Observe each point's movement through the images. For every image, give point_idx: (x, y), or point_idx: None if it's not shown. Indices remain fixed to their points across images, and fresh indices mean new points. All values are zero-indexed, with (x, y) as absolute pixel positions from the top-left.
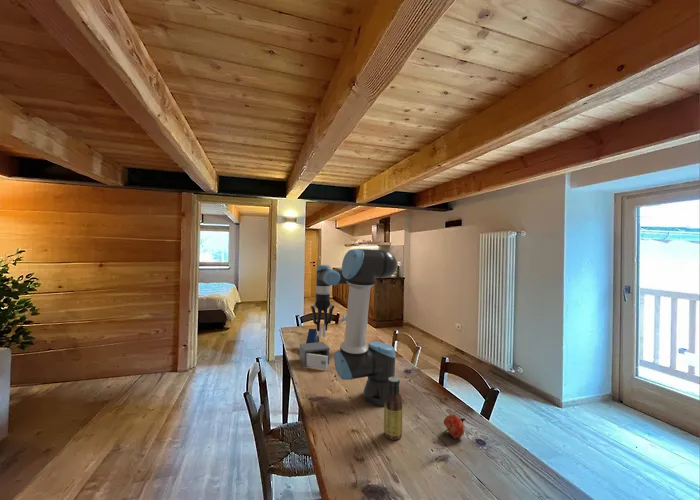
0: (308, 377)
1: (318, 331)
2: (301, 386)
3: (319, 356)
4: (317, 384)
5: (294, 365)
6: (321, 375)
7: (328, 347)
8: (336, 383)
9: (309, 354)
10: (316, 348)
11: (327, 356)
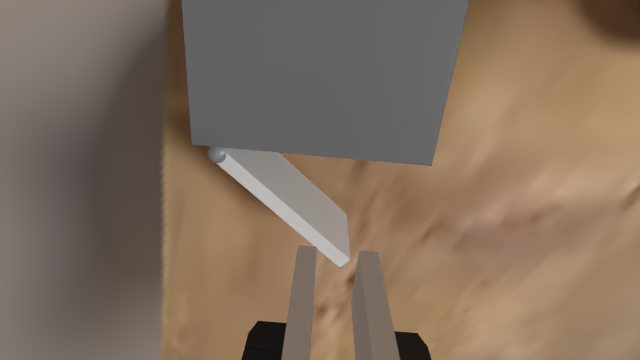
0: (221, 247)
1: (290, 301)
2: (172, 310)
3: (298, 229)
4: (243, 318)
5: (172, 51)
6: (291, 250)
7: (431, 147)
8: (323, 337)
9: (233, 176)
10: (312, 131)
11: (348, 259)
